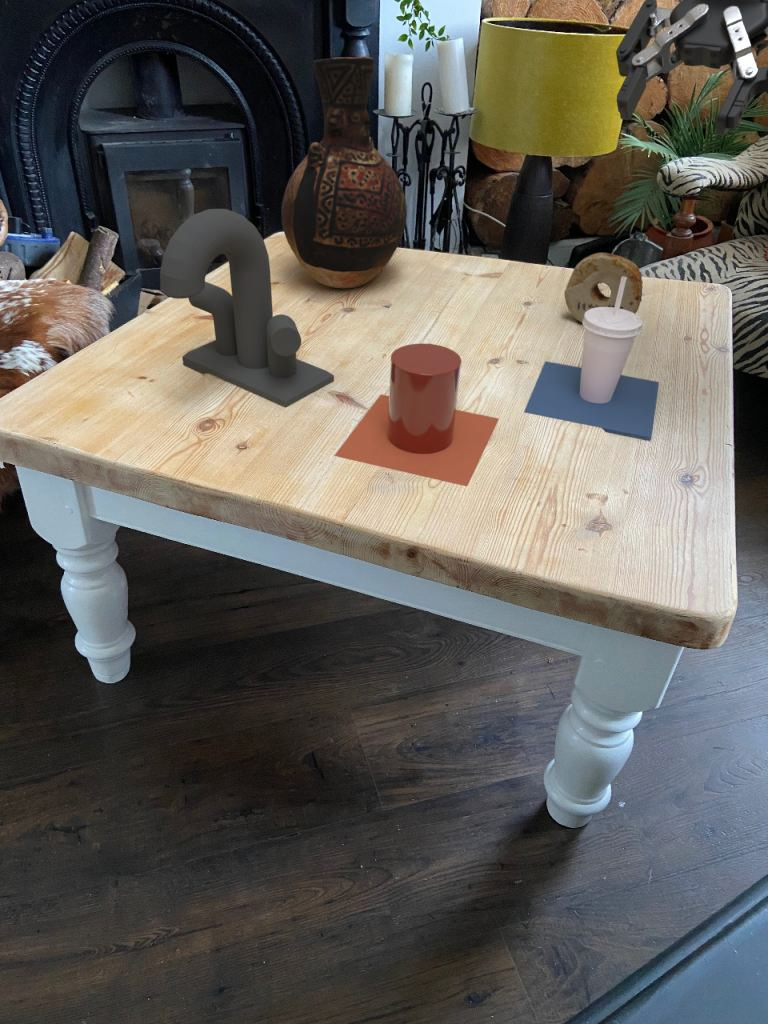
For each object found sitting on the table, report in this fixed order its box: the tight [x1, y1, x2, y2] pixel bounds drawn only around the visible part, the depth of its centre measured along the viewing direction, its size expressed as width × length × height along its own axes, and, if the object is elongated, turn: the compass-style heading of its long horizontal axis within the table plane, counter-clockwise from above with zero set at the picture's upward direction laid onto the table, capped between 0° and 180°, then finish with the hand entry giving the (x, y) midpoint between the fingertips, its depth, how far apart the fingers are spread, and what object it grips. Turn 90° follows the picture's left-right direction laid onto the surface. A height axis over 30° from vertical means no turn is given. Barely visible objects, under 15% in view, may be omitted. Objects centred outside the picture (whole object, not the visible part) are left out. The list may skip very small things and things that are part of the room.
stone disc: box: [564, 252, 644, 323], centre depth 102 cm, size 10×4×10 cm, turn 54°
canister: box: [388, 343, 462, 454], centre depth 76 cm, size 7×7×9 cm
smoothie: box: [579, 277, 644, 403], centre depth 83 cm, size 6×6×14 cm
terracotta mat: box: [333, 393, 500, 487], centre depth 79 cm, size 14×14×1 cm
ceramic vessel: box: [280, 56, 408, 289], centre depth 107 cm, size 21×18×30 cm
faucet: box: [159, 208, 335, 409], centre depth 81 cm, size 18×16×20 cm
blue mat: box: [523, 360, 660, 441], centre depth 88 cm, size 14×14×1 cm
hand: (670, 120), depth 64 cm, fingers open, 8 cm apart
